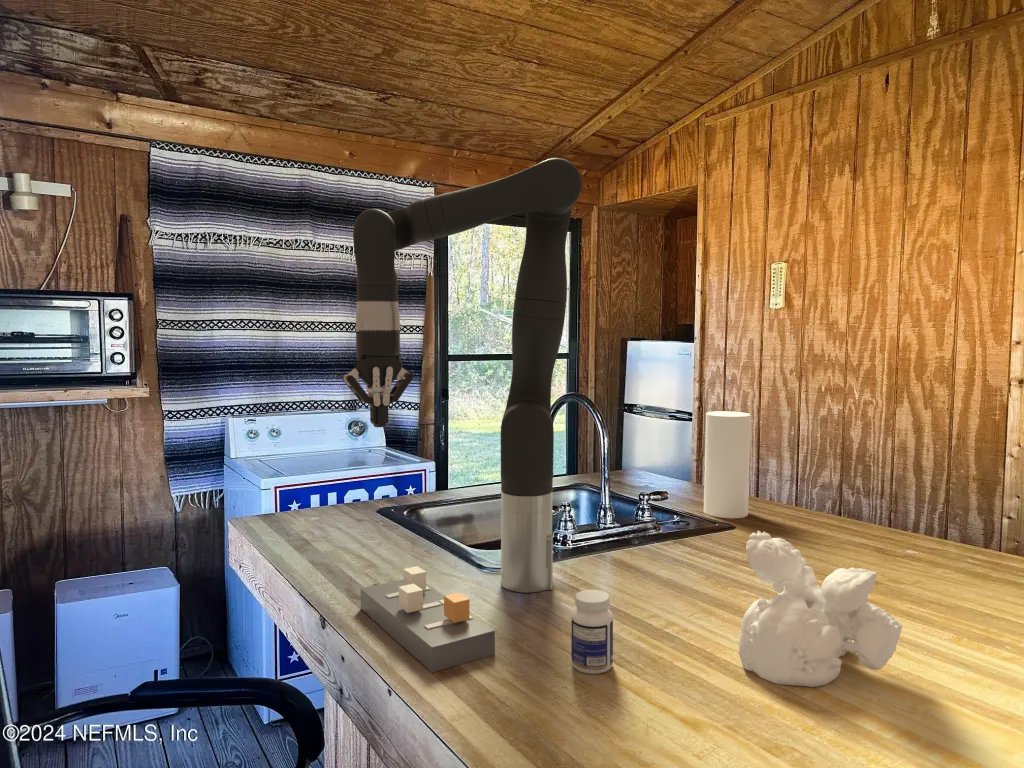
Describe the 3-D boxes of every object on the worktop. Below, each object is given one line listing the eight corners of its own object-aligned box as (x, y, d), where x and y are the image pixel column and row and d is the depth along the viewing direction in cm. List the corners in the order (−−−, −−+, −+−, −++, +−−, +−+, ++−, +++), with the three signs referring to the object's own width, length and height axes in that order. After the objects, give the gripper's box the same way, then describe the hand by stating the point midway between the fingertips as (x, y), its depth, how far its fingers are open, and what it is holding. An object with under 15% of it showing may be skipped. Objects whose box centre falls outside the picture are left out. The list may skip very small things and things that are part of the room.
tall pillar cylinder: (719, 505, 188) (722, 410, 186) (756, 513, 180) (759, 414, 178) (694, 511, 182) (697, 413, 180) (731, 520, 173) (734, 417, 171)
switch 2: (407, 612, 108) (407, 593, 108) (398, 605, 111) (398, 586, 110) (423, 609, 109) (422, 589, 109) (413, 602, 112) (413, 583, 112)
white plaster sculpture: (693, 605, 98) (767, 510, 107) (729, 697, 107) (795, 601, 116) (829, 663, 83) (900, 546, 93) (857, 763, 92) (920, 648, 102)
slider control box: (347, 597, 125) (347, 576, 124) (401, 586, 130) (401, 566, 130) (432, 672, 98) (432, 646, 98) (494, 654, 103) (494, 629, 103)
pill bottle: (586, 652, 104) (586, 584, 103) (620, 664, 100) (621, 594, 100) (562, 666, 100) (563, 596, 99) (598, 679, 96) (599, 606, 95)
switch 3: (454, 622, 104) (454, 602, 104) (444, 615, 107) (443, 595, 107) (469, 619, 106) (469, 599, 105) (458, 611, 108) (458, 592, 108)
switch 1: (412, 592, 116) (411, 574, 116) (403, 586, 119) (403, 568, 118) (426, 589, 117) (426, 571, 117) (417, 583, 120) (417, 566, 120)
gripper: (403, 327, 132) (404, 421, 134) (333, 328, 125) (335, 427, 127) (421, 328, 126) (422, 426, 128) (349, 328, 119) (350, 432, 120)
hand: (379, 426), depth 127 cm, fingers closed
